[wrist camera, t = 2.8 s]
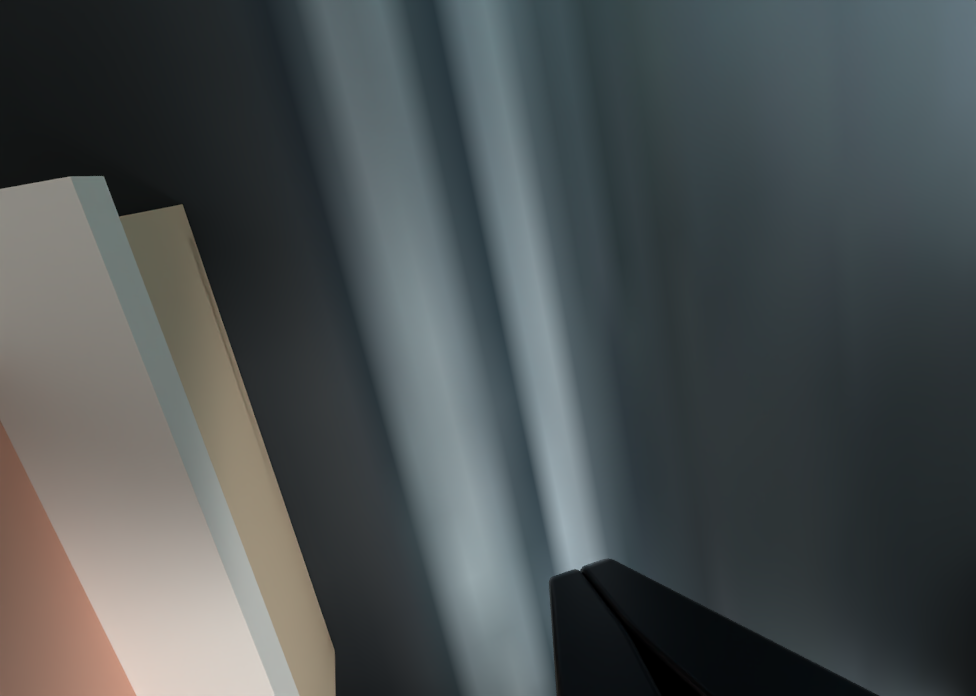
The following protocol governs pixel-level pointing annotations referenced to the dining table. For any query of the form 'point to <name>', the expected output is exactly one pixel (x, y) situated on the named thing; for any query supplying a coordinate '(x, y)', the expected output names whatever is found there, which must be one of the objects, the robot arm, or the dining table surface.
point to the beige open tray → (232, 438)
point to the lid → (109, 479)
